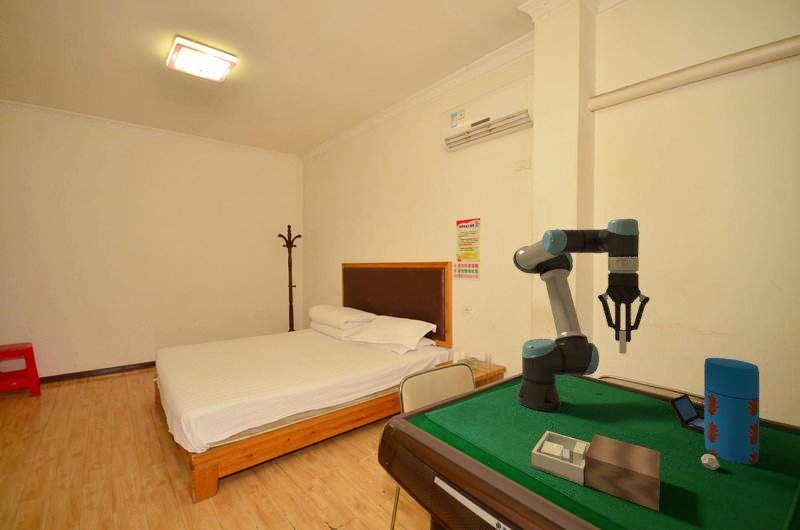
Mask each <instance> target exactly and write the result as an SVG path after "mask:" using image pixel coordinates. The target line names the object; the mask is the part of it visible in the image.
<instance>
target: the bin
mask: <svg viewBox="0 0 800 530" xmlns="http://www.w3.org/2000/svg"><path fill="white" fill-rule="evenodd" d="M545 441H547V442H551V443H555V444H559V445H563V459H562V460H560V459H557V458H554V457H551V456H548V455H545V454H542V453H541V450H542V447H543V445H544V443H545ZM573 441H578V442H581V443H585V444H586V452H587V450H588V448H589V446H590V443H591V442H588V441H584V440H581V439H578V438H573V437H570V436H567V435H564V434H560V433H556V432H553V431H550V430H546V431H545V433H543V435H542V436H541V438H540V439H539V440H538V442H537V443H536V445H535V446H534V448H533V449H532V450H531V468H533V469H536V470H539V471H542V472H544V473H547V474H549V473H550V475H552V476H555V477H558V478H561V479H564V480H565V481H569V482H572V483H574V484H577V485H580V486H585V456H584V458H583V461H582V463H581V465H580V466H578V465H575V464H572V463H569V450H570V448H571V446H572V443H573ZM585 455H586V454H585Z"/></svg>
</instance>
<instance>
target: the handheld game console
mask: <svg viewBox="0 0 800 530" xmlns="http://www.w3.org/2000/svg"><path fill="white" fill-rule="evenodd" d="M669 404H670V405H671V408H672V409H673V412H674V413H675V414H676V416H677V418H678V419H679V421H680V425H681V427H682V428H685V429H688V430H691V431H693V432H697V433H700V434H702V435H704V416H702V415H701V413H699V412H698V410H697V408H696V407H695V405H694V403H693V402H692V399H691V398H690V397H689V395H688V394H683V395H680V396H677V397H675V398H673V399H671V400H669Z"/></svg>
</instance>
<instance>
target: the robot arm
mask: <svg viewBox="0 0 800 530" xmlns="http://www.w3.org/2000/svg"><path fill="white" fill-rule="evenodd" d="M541 238H542V239H541V240H538V241H537V242H535V243H532V244H531V245H525V246H522V247H520V248H518V249H517V250H516V251H515V252H514V254H513V257H512V260H513V264H514V266H515V267H516V268H517V269H518V271H521V272H523V273H526V274H529V275H530V274H531V275H532V274H533V275H535V274H537V275H539V277H540V281H542V282H545V286H546V290H547V291H546V292H547V296H548V300H549V303H550V304H549V305H550V307H551V314H552V317H553V322H554V326H555V332H556V338H555V339H554V340H553V339H551V338H533V339H528V340H527V341H525V342H524V343H523V345H522V352H521V357H522V359H521V360H522V361H521V362H522V369H521V370H522V371H521V373H522V375H521V376H522V377H521V378H522V379H521V383H520V387H519V389H518V391H517V402H518V401H519V402H520V403H521V404H522V406H523V405H524V406H523V407H525V406H526V407H525V408H528V409H531V410H536V411H544V412H545V411H546V412H548V411H549V412H550V411H557V410H559V409H561V407H562V399H561V396H560V394H559V390H558V386H557V384H556V383H557V382H556V380H557V379H556V378H557V376H581V377H582V376H590V375H593V374H594V373H596V371H597V370H598V367H599V364H600V355H599V349H598V347H597V346H596V345H595V343H593V342H589V340H588V336H587V335H585V333H582V330H581V326H580V323H579V319H578V315H577V311H576V307H575V304H574V299H573V296H572V291H571V288H570V284H569V280H568V278H569V276H570V275H571V272H572V271H573V267H574V264H573V263H574V260H573V259H574V258H573V256H572V254H604V253H605V254H606V253H607V271H609V273H607V288H606V290H605V292H604V293H601V294H598V296H597V299H598V301H600V302H601V305H602V306H601V307H602V310H603V312H604V317H605V320H606V323H607V327H608V328H611V329H613V330H614V338H615V341H616V342H618V343H619V345H618V346H619V347H618V349H619V354H624V355H626V354H627V343H630V342H631V341H632V331H638V329H639V328H640V324H641V323H640V322H641V320H642V317H643V314H644V311H645V307H646V305H647V304H648V302H650V296H646V295H644V294H643V293H641V292H642V291H641V290H640V287H639V284H640V283H639V282H640V281H639V279H640V278H639V277H640V276H639V274H638V271H639V268H640V267H639V266H640V265H639V264H640V263H639V261H640V259H639V254H640V253H639V248H640V246H639V245H640V244H639V243H640V231H639V221H638V220H637V219H634V218H619V219H618V218H617V219H612V220H610V221H608V224H607V228H604V229H601V228H600V229H559V228H557V229H550V230H549V229H548V230H546V231H545V232H544V234H543V236H542V237H541ZM638 298H639V300H638V301H639V306H638V309H637V312H636V316H635V319H634V323H633V324H632V304H633V303H634V302H635V301H636V300H637V299H638ZM608 299H610V300H611V301H612V302H613V303H614V321H613V317H612V313H611V310H610V306H609V303H608ZM622 304H623V305H624V307H625V308H624V309H625V310H624V311H625V312H624V313H625V317H624V318H625V322H624V325H625V326H624V328H625V329H621V327H622V326H621V324H622V323H621V322H622V320H621V315H622V314H621V311H622V309H621V308H622ZM519 402H518V403H519ZM520 403H519V404H520ZM521 404H520V405H521Z"/></svg>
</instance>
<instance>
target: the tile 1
mask: <svg viewBox="0 0 800 530" xmlns="http://www.w3.org/2000/svg"><path fill="white" fill-rule="evenodd" d="M541 453H542V454H545V455H548V456H551V457H554V458H557V459H560V460H562V459H563V445H559V444H555V443H551V442H547V441H545V443H544V445H543V447H542V450H541Z"/></svg>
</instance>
